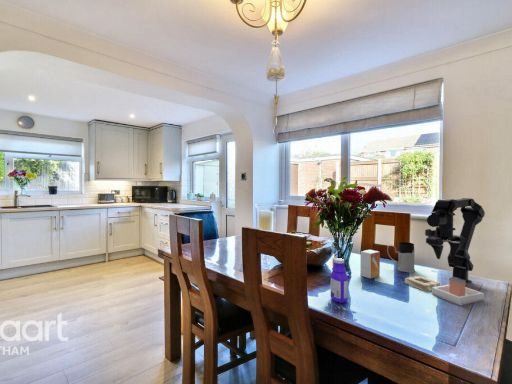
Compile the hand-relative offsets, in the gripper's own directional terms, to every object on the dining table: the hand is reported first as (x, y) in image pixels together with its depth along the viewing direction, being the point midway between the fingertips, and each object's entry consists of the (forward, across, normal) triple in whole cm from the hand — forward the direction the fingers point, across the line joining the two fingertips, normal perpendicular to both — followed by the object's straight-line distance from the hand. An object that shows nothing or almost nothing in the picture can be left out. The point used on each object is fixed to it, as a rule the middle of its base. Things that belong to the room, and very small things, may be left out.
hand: (445, 258), depth 131 cm
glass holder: (+13, 0, -26) cm, 29 cm away
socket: (+13, +11, -3) cm, 17 cm away
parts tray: (+13, +9, +12) cm, 20 cm away
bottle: (+13, +58, -2) cm, 60 cm away
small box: (+13, +24, -23) cm, 36 cm away
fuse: (+12, +9, +12) cm, 19 cm away
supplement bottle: (+13, +37, -33) cm, 51 cm away
